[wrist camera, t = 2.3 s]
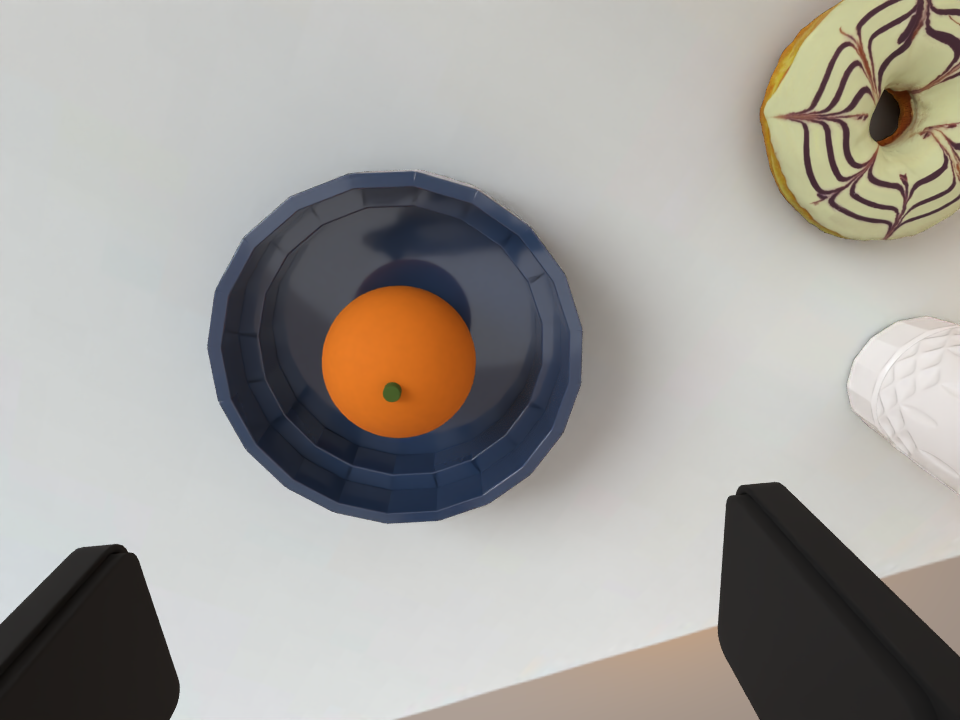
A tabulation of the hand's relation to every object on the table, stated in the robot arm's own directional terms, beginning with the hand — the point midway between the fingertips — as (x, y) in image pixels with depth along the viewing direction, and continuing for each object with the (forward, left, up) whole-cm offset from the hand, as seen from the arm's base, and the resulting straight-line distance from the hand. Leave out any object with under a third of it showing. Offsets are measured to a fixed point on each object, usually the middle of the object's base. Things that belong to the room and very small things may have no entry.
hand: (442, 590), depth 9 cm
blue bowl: (-2, -3, -21) cm, 21 cm away
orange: (-2, -3, -20) cm, 21 cm away
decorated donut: (+16, +13, -21) cm, 30 cm away
